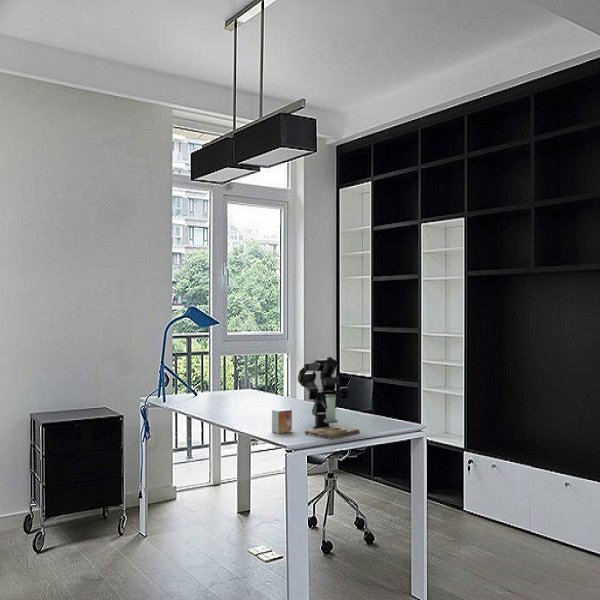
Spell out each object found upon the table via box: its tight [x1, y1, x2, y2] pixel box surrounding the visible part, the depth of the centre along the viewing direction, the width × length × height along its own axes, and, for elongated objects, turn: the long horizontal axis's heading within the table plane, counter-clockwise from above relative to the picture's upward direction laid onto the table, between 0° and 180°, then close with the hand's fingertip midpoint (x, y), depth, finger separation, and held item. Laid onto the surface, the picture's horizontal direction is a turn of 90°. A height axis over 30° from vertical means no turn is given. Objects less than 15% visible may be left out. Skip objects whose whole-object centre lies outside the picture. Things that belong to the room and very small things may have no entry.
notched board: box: [304, 424, 360, 439], centre depth 315 cm, size 16×20×2 cm
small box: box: [271, 408, 293, 434], centre depth 320 cm, size 8×6×10 cm
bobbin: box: [324, 394, 339, 424], centre depth 313 cm, size 6×6×12 cm
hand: (331, 408), depth 311 cm, fingers closed on bobbin, 4 cm apart
